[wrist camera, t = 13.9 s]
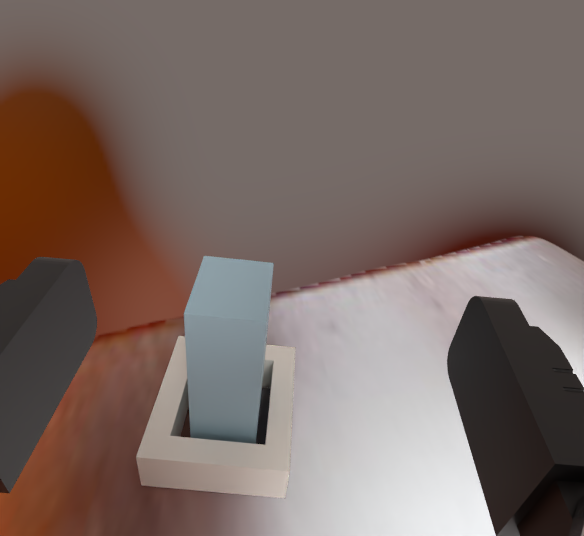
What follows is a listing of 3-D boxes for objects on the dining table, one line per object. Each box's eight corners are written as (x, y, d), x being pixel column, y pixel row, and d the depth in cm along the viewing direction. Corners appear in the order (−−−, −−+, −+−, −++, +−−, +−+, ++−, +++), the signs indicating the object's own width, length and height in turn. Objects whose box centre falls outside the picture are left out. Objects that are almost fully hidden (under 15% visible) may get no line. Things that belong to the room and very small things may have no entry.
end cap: (291, 374, 34) (295, 347, 33) (284, 498, 27) (289, 471, 25) (180, 363, 34) (178, 335, 32) (141, 485, 26) (136, 457, 25)
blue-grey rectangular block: (261, 396, 33) (273, 262, 26) (254, 459, 28) (266, 322, 22) (206, 391, 32) (204, 255, 25) (191, 454, 28) (183, 313, 21)
